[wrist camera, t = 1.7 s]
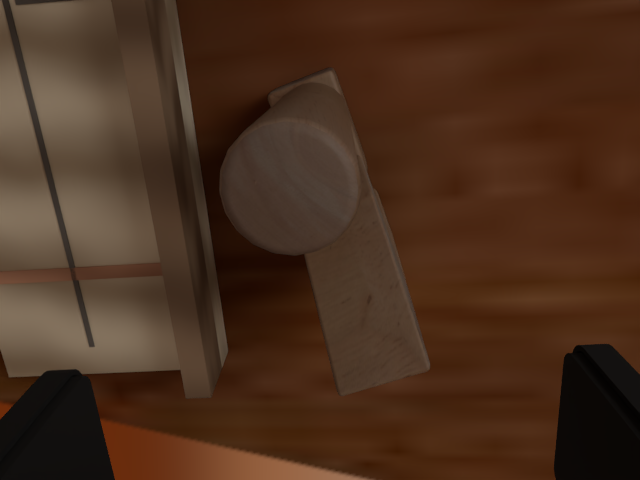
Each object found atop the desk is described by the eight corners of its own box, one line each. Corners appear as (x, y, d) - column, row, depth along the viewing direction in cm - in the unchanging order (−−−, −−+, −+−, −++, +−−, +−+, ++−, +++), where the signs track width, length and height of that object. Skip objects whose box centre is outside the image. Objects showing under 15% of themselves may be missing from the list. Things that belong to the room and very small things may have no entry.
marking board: (-118, -118, 26) (-217, -155, 22) (154, -145, 26) (112, -188, 21) (26, 360, 36) (-21, 406, 31) (228, 351, 35) (211, 397, 30)
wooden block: (338, 257, 33) (339, 480, 16) (272, 89, 29) (184, 143, 12) (394, 238, 32) (458, 448, 15) (334, 65, 29) (330, 86, 12)
